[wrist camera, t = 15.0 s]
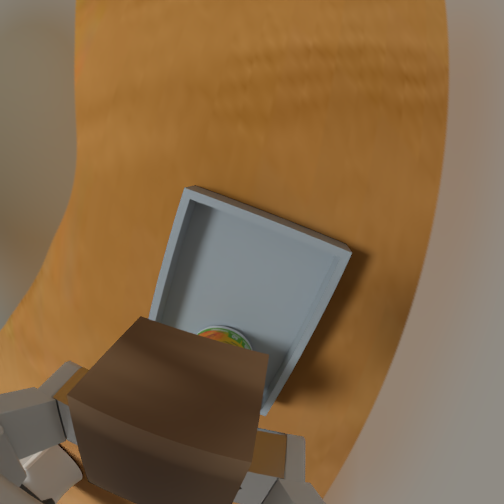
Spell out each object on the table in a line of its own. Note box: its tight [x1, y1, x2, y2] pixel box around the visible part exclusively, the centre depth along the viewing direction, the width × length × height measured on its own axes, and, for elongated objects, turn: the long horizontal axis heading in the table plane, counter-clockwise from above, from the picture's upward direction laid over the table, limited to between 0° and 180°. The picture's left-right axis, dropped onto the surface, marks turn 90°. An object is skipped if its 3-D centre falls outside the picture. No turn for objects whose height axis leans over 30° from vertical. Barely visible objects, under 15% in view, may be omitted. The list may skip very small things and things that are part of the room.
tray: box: [148, 185, 352, 416], centre depth 24 cm, size 12×16×2 cm
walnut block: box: [67, 316, 269, 504], centre depth 8 cm, size 4×4×4 cm
